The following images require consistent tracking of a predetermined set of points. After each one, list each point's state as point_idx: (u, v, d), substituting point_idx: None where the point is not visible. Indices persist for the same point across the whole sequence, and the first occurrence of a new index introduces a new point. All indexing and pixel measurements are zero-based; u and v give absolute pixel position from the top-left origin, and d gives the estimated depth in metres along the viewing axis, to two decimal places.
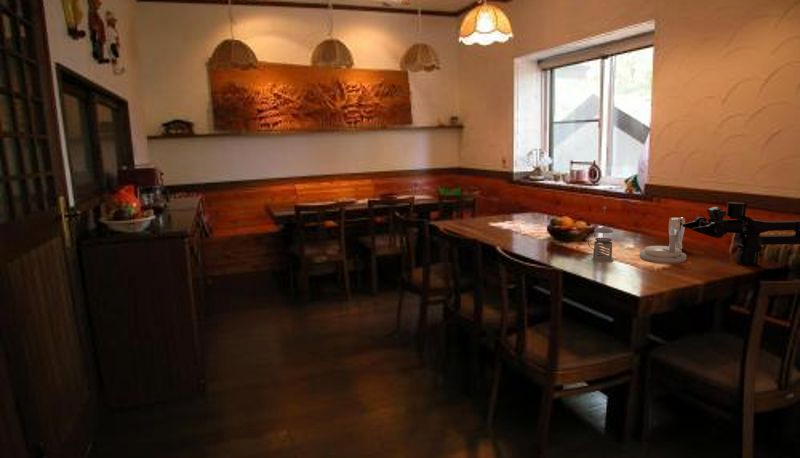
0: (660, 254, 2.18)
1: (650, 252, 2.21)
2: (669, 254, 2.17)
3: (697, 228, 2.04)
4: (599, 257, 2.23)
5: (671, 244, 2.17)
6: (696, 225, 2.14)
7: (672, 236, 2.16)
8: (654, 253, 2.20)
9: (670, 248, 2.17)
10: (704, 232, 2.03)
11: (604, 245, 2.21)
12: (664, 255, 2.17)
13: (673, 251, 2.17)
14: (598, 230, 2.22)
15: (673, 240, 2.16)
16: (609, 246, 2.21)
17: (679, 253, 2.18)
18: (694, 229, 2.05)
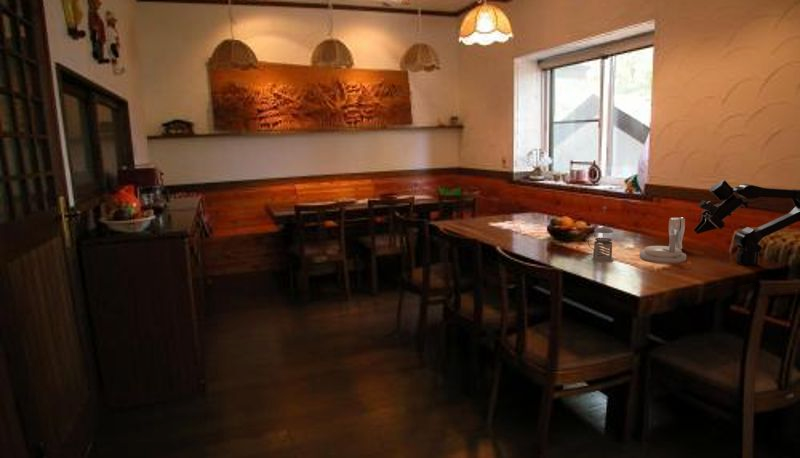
0: (660, 254, 2.18)
1: (650, 252, 2.21)
2: (669, 254, 2.17)
3: (699, 230, 2.10)
4: (599, 257, 2.23)
5: (671, 244, 2.17)
6: None
7: (672, 236, 2.16)
8: (654, 253, 2.20)
9: (670, 248, 2.17)
10: (707, 229, 2.08)
11: (604, 245, 2.21)
12: (664, 255, 2.17)
13: (673, 251, 2.17)
14: (598, 230, 2.22)
15: (673, 240, 2.16)
16: (609, 246, 2.21)
17: (679, 253, 2.18)
18: (697, 232, 2.11)
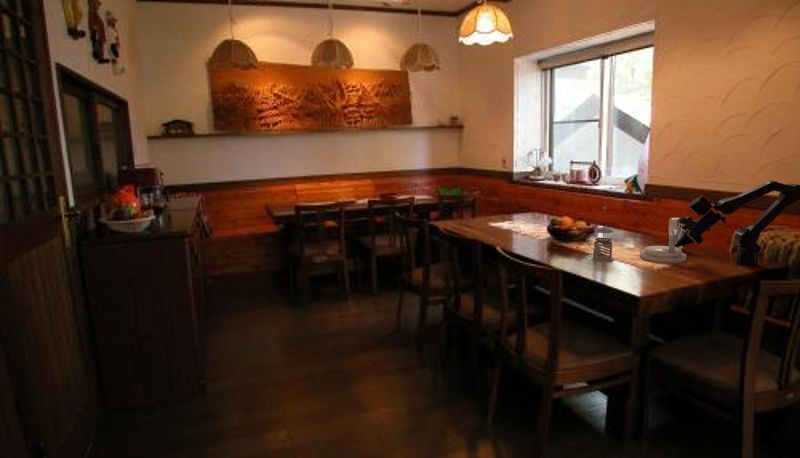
0: (659, 254, 2.18)
1: (649, 252, 2.22)
2: (668, 254, 2.17)
3: (678, 244, 2.16)
4: (599, 257, 2.23)
5: (670, 244, 2.17)
6: None
7: (671, 236, 2.16)
8: (653, 253, 2.20)
9: (669, 248, 2.17)
10: (686, 243, 2.14)
11: (604, 245, 2.21)
12: (663, 255, 2.17)
13: (672, 251, 2.17)
14: (598, 230, 2.22)
15: (672, 240, 2.16)
16: (609, 246, 2.21)
17: (679, 253, 2.18)
18: (676, 245, 2.16)
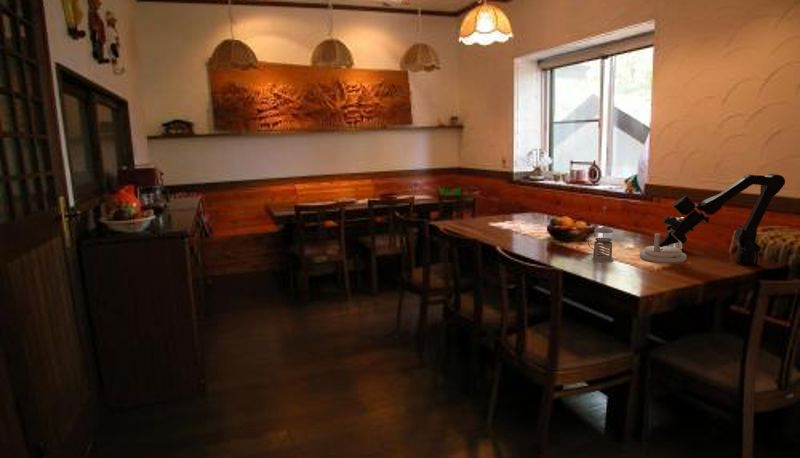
0: (645, 251, 2.25)
1: None
2: (650, 252, 2.21)
3: (662, 244, 2.17)
4: (599, 257, 2.23)
5: (654, 243, 2.20)
6: None
7: (655, 235, 2.19)
8: None
9: (654, 247, 2.21)
10: (670, 242, 2.15)
11: (604, 245, 2.21)
12: (647, 252, 2.23)
13: (655, 250, 2.20)
14: (598, 230, 2.22)
15: (655, 239, 2.19)
16: (609, 246, 2.21)
17: (663, 254, 2.17)
18: (661, 245, 2.18)
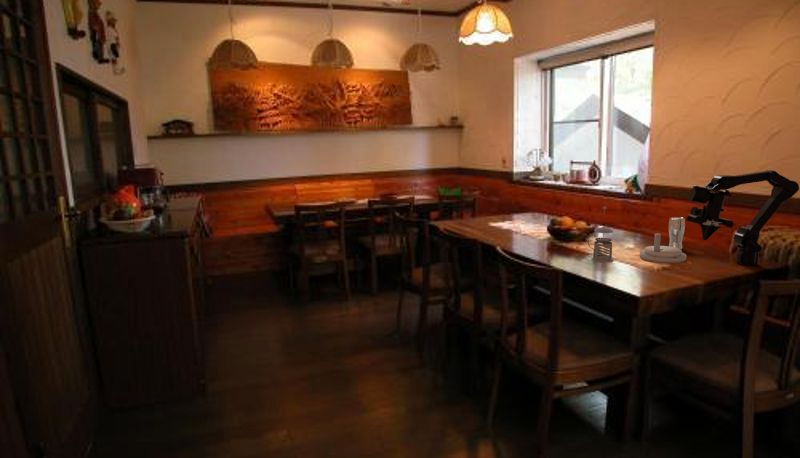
0: (645, 251, 2.25)
1: None
2: (650, 252, 2.21)
3: (703, 236, 2.10)
4: (599, 257, 2.23)
5: (654, 243, 2.20)
6: None
7: None
8: None
9: (654, 247, 2.21)
10: (706, 231, 2.08)
11: (604, 245, 2.21)
12: (647, 252, 2.23)
13: (655, 250, 2.20)
14: (598, 230, 2.22)
15: (655, 239, 2.19)
16: (609, 246, 2.21)
17: (663, 254, 2.17)
18: (704, 239, 2.10)
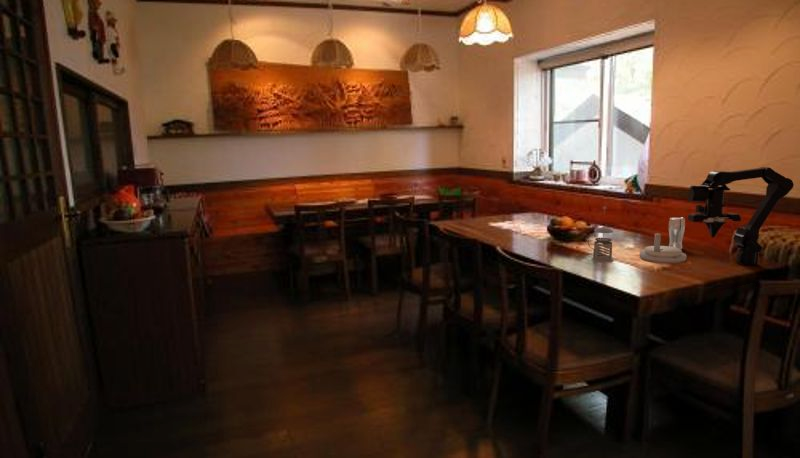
0: (645, 251, 2.25)
1: None
2: (650, 252, 2.21)
3: (710, 233, 2.09)
4: (599, 257, 2.23)
5: (654, 243, 2.20)
6: (715, 223, 2.08)
7: None
8: None
9: (654, 247, 2.21)
10: (710, 228, 2.07)
11: (604, 245, 2.21)
12: (647, 252, 2.23)
13: (655, 250, 2.20)
14: (598, 230, 2.22)
15: (655, 239, 2.19)
16: (609, 246, 2.21)
17: (663, 254, 2.17)
18: (711, 236, 2.09)
